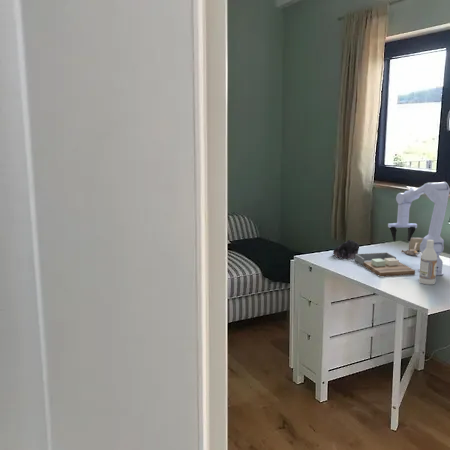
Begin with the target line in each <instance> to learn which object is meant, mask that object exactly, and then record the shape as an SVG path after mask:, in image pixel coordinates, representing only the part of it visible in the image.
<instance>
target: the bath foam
mask: <svg viewBox="0 0 450 450" xmlns="http://www.w3.org/2000/svg"><path fill="white" fill-rule="evenodd" d="M433 247H434V240H427V247H426V249H425V250H424V251H423V253H421V255H420V263H419V264H420V265H419V269H420V271H419V275H418V276H419V277H418V282H419V283H420V284H423V285H426V286H427V285H429V286H431V285H434V284H435V283H436V278H437V275H436V268H437V254H436V252H435V250H434V249H433Z"/></svg>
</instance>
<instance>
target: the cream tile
mask: <svg viewBox="0 0 450 450" xmlns="http://www.w3.org/2000/svg"><path fill="white" fill-rule="evenodd" d="M384 261H386V264H387V265H388V266H395V265H398V264H399V262H400V260H398V259H397V258H396V259H395V258H385V259H384Z"/></svg>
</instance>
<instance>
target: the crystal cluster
mask: <svg viewBox="0 0 450 450" xmlns="http://www.w3.org/2000/svg"><path fill="white" fill-rule="evenodd" d="M359 250H360V244H359V243H358V242H356V241H355V240H353V239H348V240H347V241H345V242H343V243H342V244H340V245H338V246H337V247H335V248H334V250H333V251H332V253H333V254H332V255H334V256H337V257H339V258H340V259H344V258H346V259H350V260H353V259H355V254H359ZM337 257H336V258H337ZM339 258H338V259H339Z"/></svg>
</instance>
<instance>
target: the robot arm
mask: <svg viewBox="0 0 450 450" xmlns="http://www.w3.org/2000/svg"><path fill="white" fill-rule="evenodd" d="M424 194H425V195H426V197H427V198H428V199H429V200H430V201H431V202H433V204H434V205H433V209H432V213H431V218H430V223H429V228H428V233H427V235H425V236H424V237H422V238H423V240H422V242H421V244H420V251H419V252H420V253H421V254H422V253H423V251H424V250H425V249H426V247H427V240H434V247H433V249H434V250H435V252H436V254H437V268H436V276H443V275H444V273H443V263H444V262H443V260H442V259H441V258H440V256H441V254H442V253H443V252H444V247H445V245H444V242H445V240H444V239H443V238H442V236H441V233H442V230H443V226H444V220H445V215H446V212H447V208H448V202H449V201H448V200H449V196H450V186H449V184H448V183H447V182H446V181H441V182H426V183H424V184H423V185H421V186H419V187H417V188H415V187H410V188H409V189H408V190H405V191H404V192H398V193H397V194H396V197H395V200H396V203H397V217H396V222H393V223H387V228H389V230H390V233H391V237H392V241H393V242H396V239H397V238H396V237H397V230H398V229H397V228H400V229H401V228H406V229H407V242H409V241H410V240H411V238H413V234H414V233H415V231H416V229H417V228H418V224H417V223H410V208H411V206H412V202H413V201H416V200H419V198H420V197H421V195H424ZM417 270H418V271H419V272H420V268H417Z"/></svg>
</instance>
